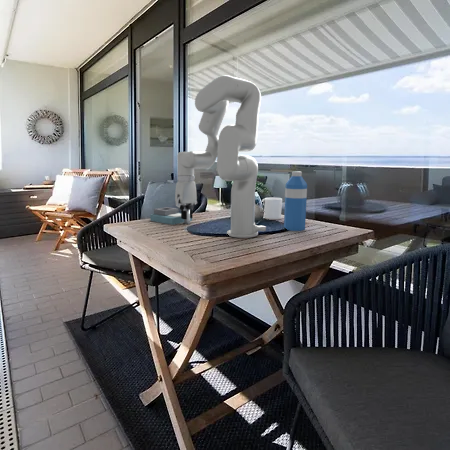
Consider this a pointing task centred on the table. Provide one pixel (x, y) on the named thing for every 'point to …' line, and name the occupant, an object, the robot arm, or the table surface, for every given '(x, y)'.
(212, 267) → the table surface
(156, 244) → the table surface
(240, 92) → the robot arm
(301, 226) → the water bottle
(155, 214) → the drill base
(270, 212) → the mug
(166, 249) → the table surface
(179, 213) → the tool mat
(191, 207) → the chuck key
